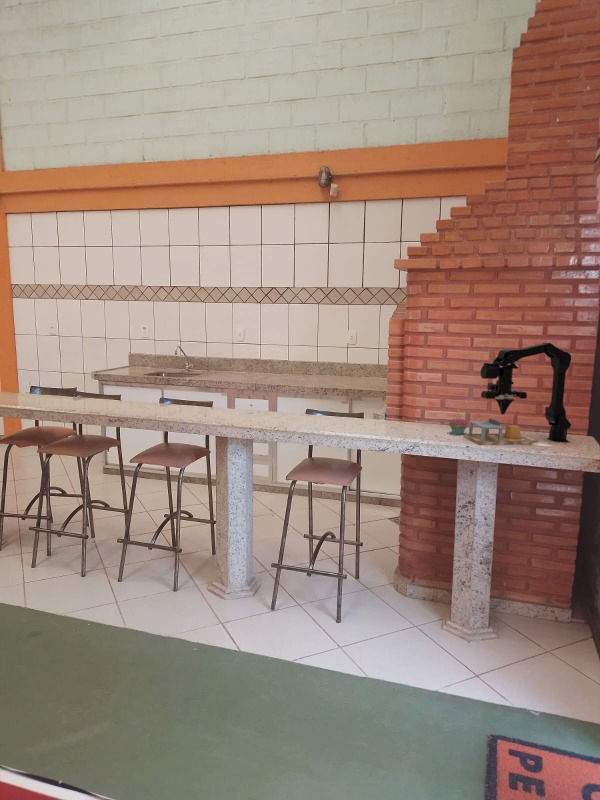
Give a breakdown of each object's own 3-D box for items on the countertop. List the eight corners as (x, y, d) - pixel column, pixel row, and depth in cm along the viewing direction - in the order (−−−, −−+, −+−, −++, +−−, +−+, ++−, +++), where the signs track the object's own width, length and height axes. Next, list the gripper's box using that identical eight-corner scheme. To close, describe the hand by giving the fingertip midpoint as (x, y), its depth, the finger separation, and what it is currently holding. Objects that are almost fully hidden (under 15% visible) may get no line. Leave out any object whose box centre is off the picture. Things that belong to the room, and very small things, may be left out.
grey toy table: (487, 433, 258) (488, 417, 257) (502, 440, 244) (503, 423, 243) (468, 434, 257) (469, 417, 256) (482, 440, 243) (483, 423, 242)
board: (519, 437, 262) (519, 433, 261) (538, 444, 246) (539, 440, 246) (463, 437, 258) (463, 433, 258) (479, 445, 242) (479, 441, 242)
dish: (545, 442, 250) (546, 441, 250) (557, 447, 241) (558, 445, 241) (526, 443, 249) (526, 441, 249) (538, 447, 240) (538, 446, 240)
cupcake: (446, 432, 270) (447, 406, 268) (463, 432, 270) (465, 407, 269) (452, 435, 261) (453, 409, 259) (470, 435, 262) (472, 410, 260)
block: (514, 439, 255) (515, 425, 254) (519, 441, 251) (520, 427, 250) (504, 439, 255) (505, 425, 254) (509, 441, 250) (510, 427, 249)
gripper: (515, 376, 257) (513, 411, 259) (476, 376, 254) (474, 411, 257) (529, 379, 246) (526, 415, 249) (488, 379, 244) (485, 415, 246)
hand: (502, 414), depth 250 cm, fingers closed
